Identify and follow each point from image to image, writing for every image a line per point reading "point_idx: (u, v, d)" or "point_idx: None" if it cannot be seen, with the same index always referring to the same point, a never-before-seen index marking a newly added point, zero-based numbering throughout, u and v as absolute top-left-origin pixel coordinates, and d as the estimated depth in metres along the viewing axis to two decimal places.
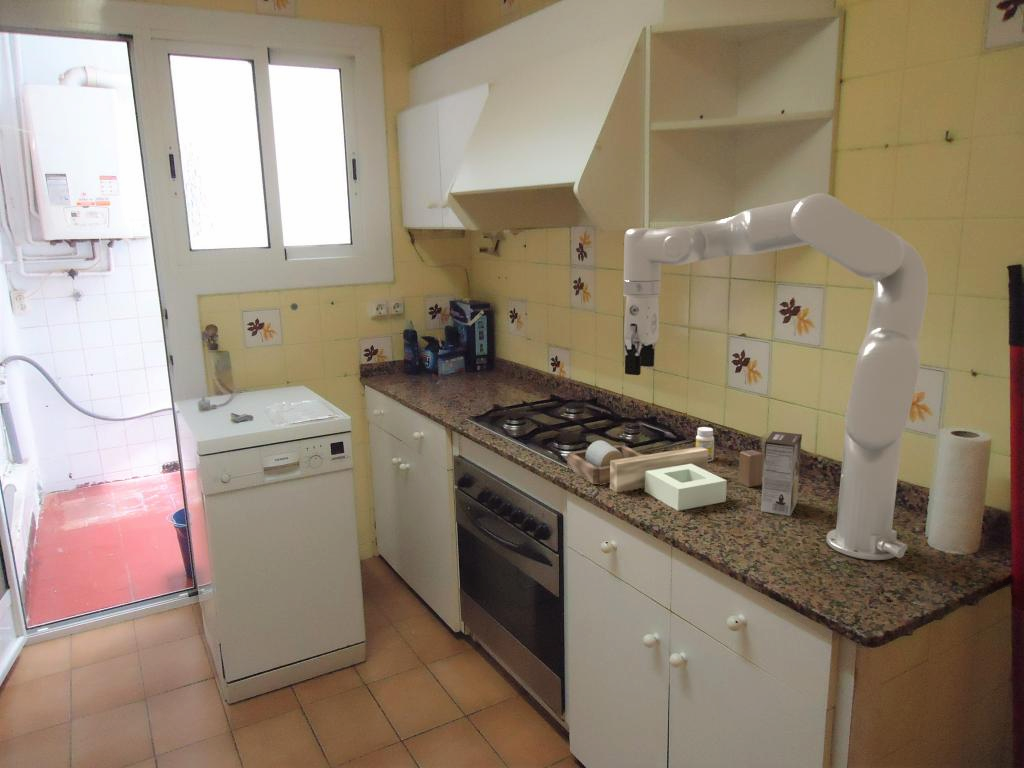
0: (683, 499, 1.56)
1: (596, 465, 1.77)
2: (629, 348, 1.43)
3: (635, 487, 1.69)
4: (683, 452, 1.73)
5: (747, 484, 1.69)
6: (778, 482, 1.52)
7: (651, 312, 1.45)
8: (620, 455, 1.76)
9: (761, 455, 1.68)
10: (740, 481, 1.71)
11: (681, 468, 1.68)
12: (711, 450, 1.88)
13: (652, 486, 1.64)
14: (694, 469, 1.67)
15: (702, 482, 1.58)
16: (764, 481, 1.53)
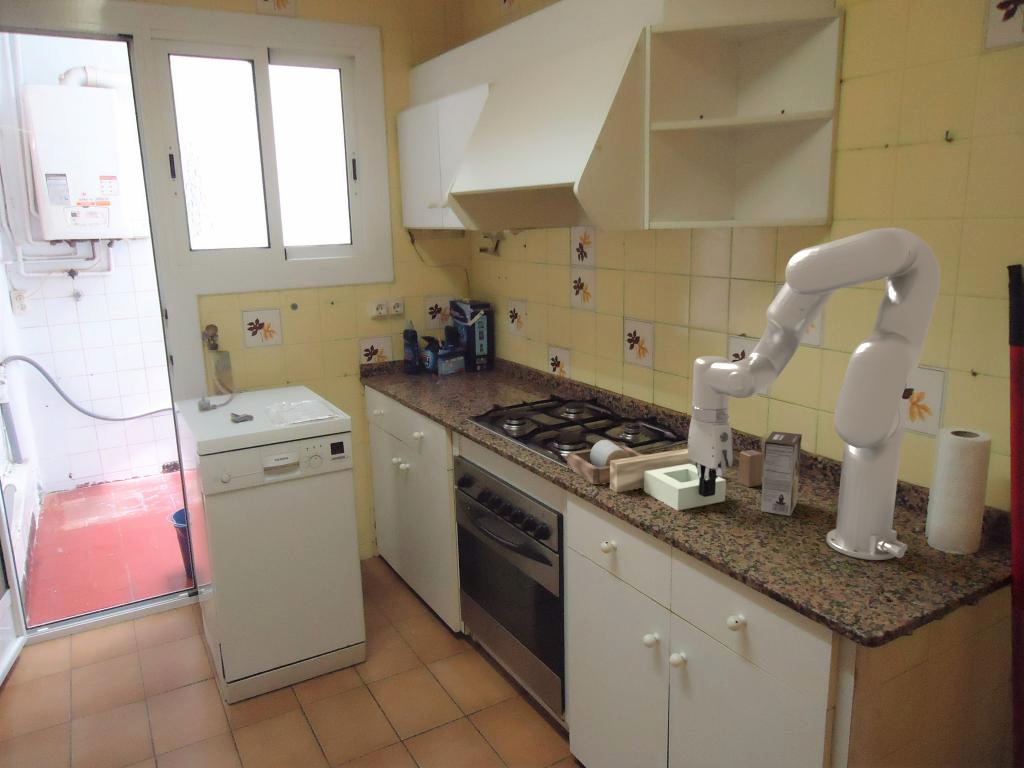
0: (682, 499, 1.56)
1: (601, 464, 1.78)
2: None
3: (635, 487, 1.69)
4: (683, 452, 1.73)
5: (747, 484, 1.69)
6: (778, 482, 1.52)
7: None
8: (625, 454, 1.77)
9: (761, 455, 1.68)
10: (740, 481, 1.71)
11: (680, 468, 1.68)
12: None
13: (651, 486, 1.64)
14: (693, 468, 1.68)
15: None
16: (764, 481, 1.53)
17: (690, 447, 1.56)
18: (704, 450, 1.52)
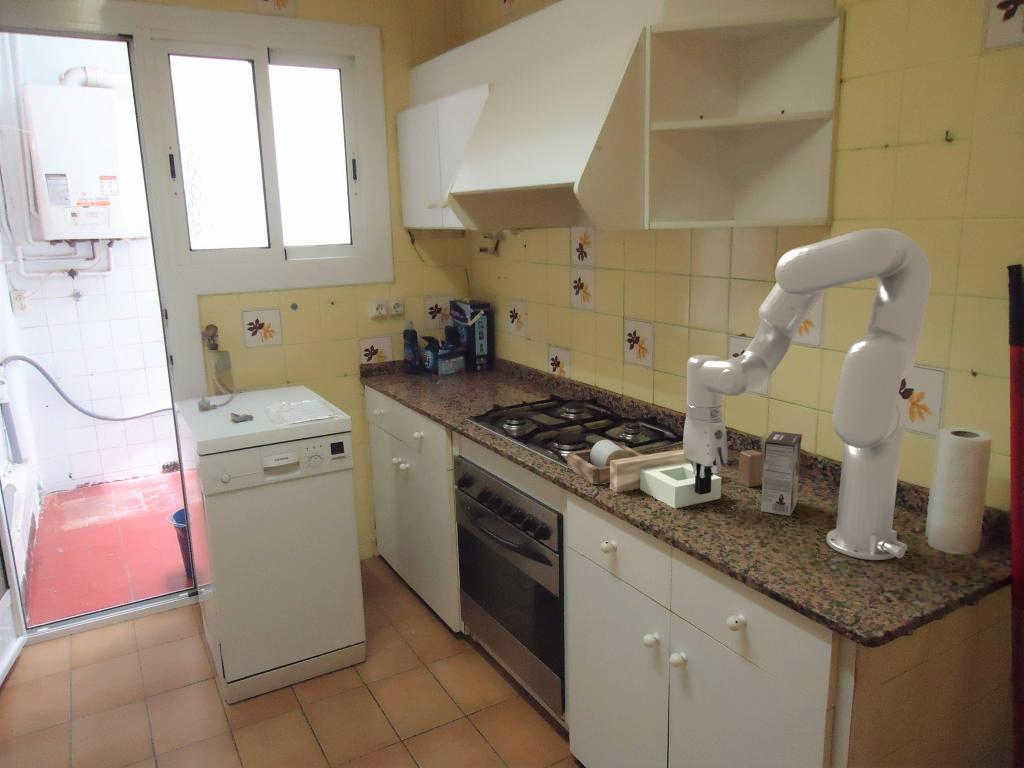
0: (679, 497, 1.57)
1: (601, 464, 1.78)
2: None
3: (635, 487, 1.69)
4: None
5: (747, 484, 1.69)
6: (778, 482, 1.52)
7: None
8: (625, 454, 1.77)
9: (761, 455, 1.68)
10: (740, 481, 1.71)
11: (675, 466, 1.70)
12: None
13: (648, 484, 1.66)
14: (688, 467, 1.69)
15: None
16: (764, 481, 1.53)
17: (685, 445, 1.58)
18: (699, 448, 1.53)
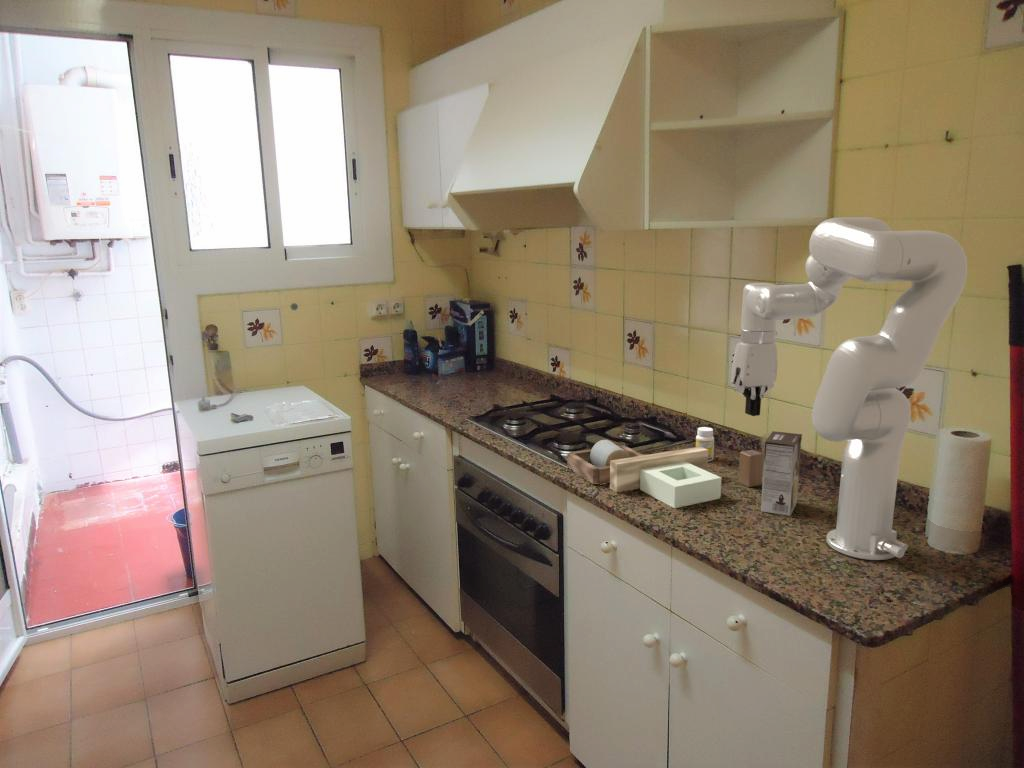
0: (679, 497, 1.57)
1: (601, 464, 1.78)
2: None
3: (635, 487, 1.69)
4: (683, 452, 1.73)
5: (747, 484, 1.69)
6: (778, 482, 1.52)
7: None
8: (625, 454, 1.77)
9: (761, 455, 1.68)
10: (740, 481, 1.71)
11: (675, 466, 1.70)
12: (711, 450, 1.88)
13: (648, 484, 1.66)
14: (688, 466, 1.69)
15: (698, 480, 1.60)
16: (764, 481, 1.53)
17: (750, 375, 1.62)
18: (768, 370, 1.63)
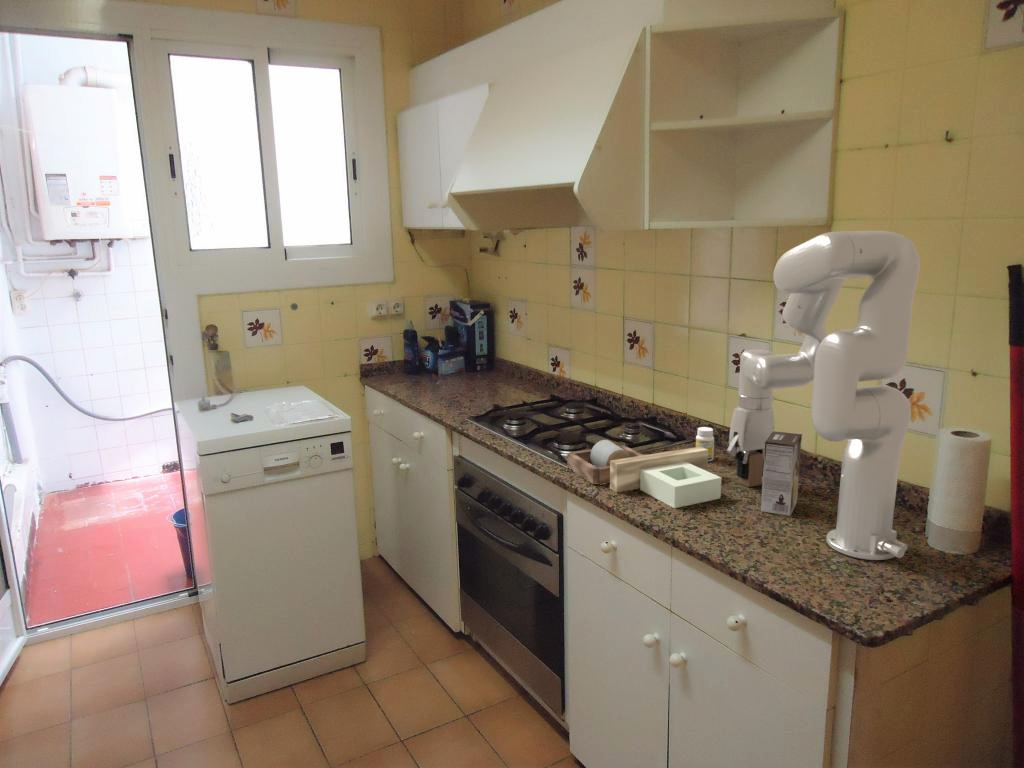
0: (679, 497, 1.57)
1: (601, 464, 1.78)
2: None
3: (635, 487, 1.69)
4: (683, 452, 1.73)
5: (747, 484, 1.69)
6: (778, 482, 1.52)
7: None
8: (625, 454, 1.77)
9: (761, 455, 1.68)
10: (740, 481, 1.71)
11: (675, 466, 1.70)
12: (711, 450, 1.88)
13: (648, 484, 1.66)
14: (688, 466, 1.69)
15: (698, 480, 1.60)
16: (764, 481, 1.53)
17: (747, 439, 1.66)
18: (765, 434, 1.67)
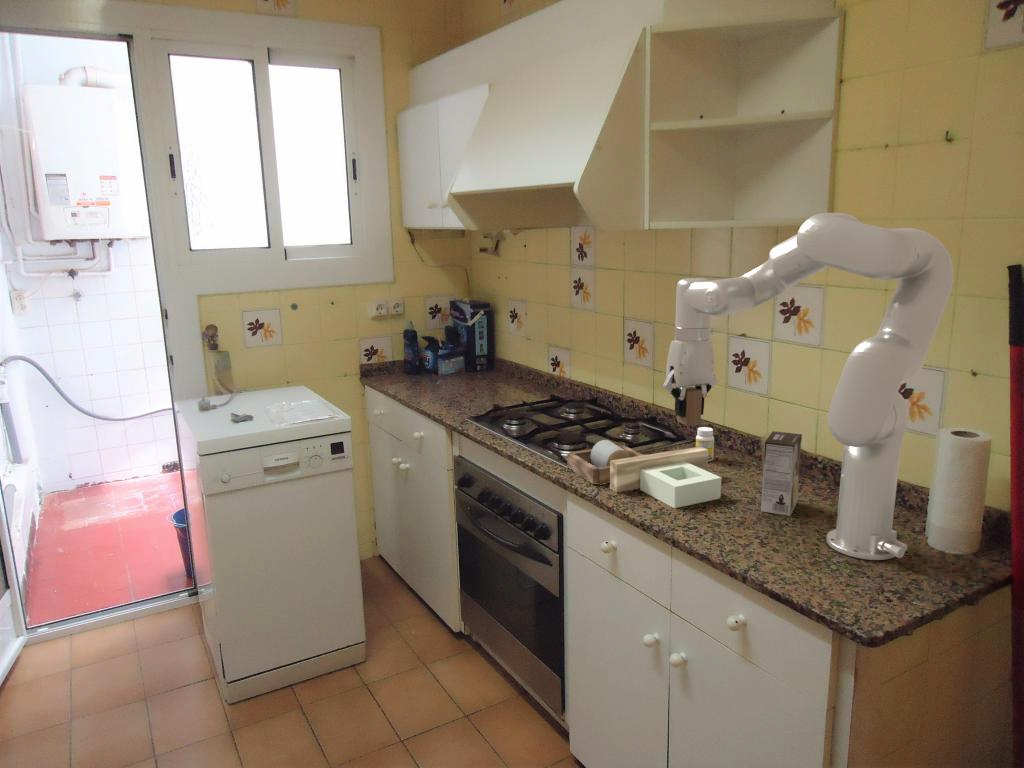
0: (679, 497, 1.57)
1: (602, 464, 1.77)
2: None
3: (635, 487, 1.69)
4: (683, 452, 1.73)
5: (685, 422, 1.60)
6: (778, 482, 1.52)
7: None
8: (625, 454, 1.77)
9: (699, 391, 1.59)
10: (678, 420, 1.62)
11: (675, 466, 1.70)
12: (711, 450, 1.88)
13: (648, 484, 1.66)
14: (688, 466, 1.69)
15: (698, 480, 1.60)
16: (764, 481, 1.53)
17: (683, 373, 1.56)
18: (703, 369, 1.57)
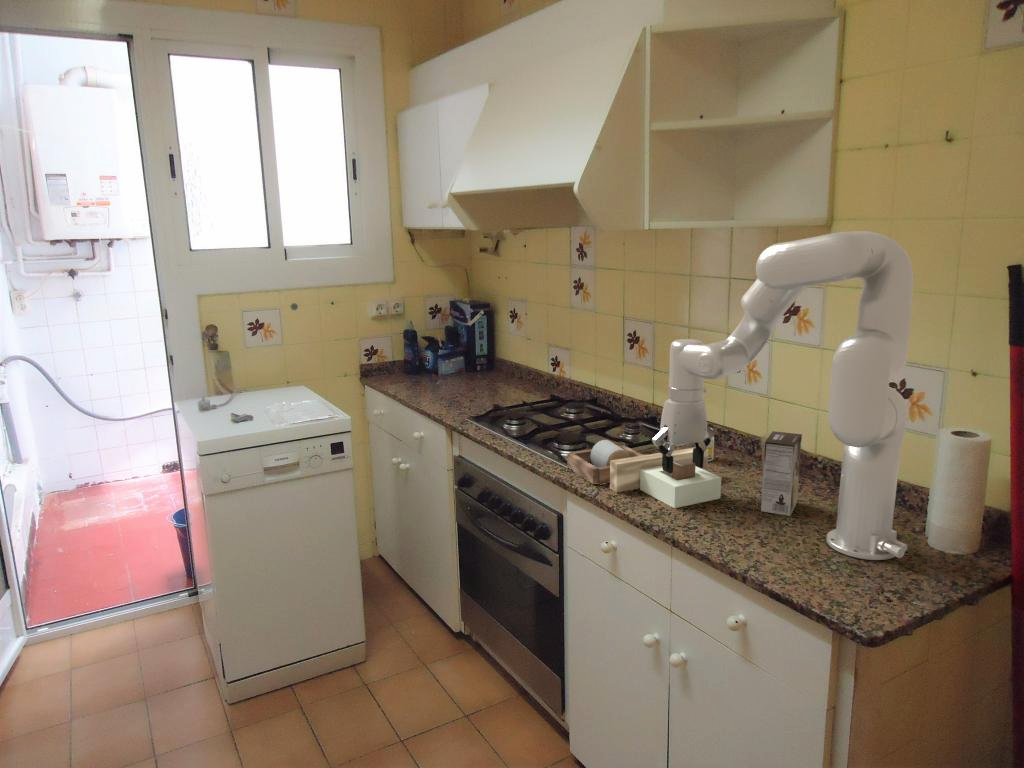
0: (679, 497, 1.57)
1: (602, 464, 1.77)
2: None
3: (635, 487, 1.69)
4: (683, 452, 1.73)
5: None
6: (778, 482, 1.52)
7: None
8: (625, 454, 1.77)
9: (693, 465, 1.62)
10: None
11: None
12: (711, 450, 1.88)
13: (648, 484, 1.66)
14: None
15: (698, 480, 1.60)
16: (764, 481, 1.53)
17: (677, 433, 1.58)
18: (696, 428, 1.60)
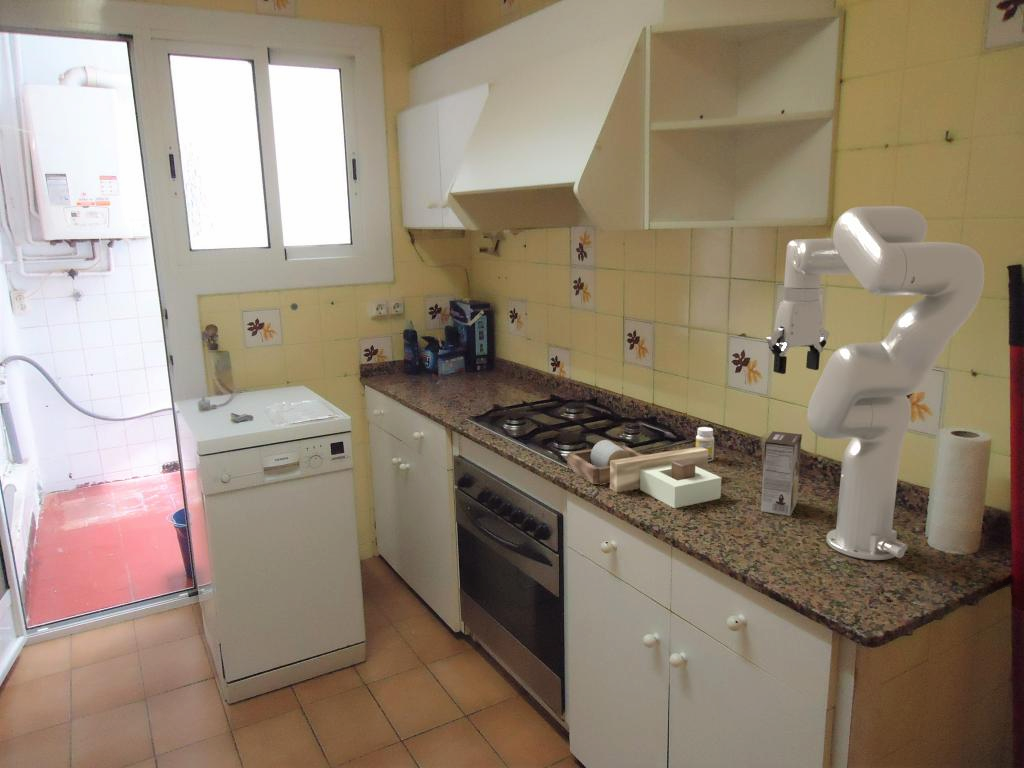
0: (679, 497, 1.57)
1: (602, 465, 1.77)
2: None
3: (635, 487, 1.69)
4: (683, 452, 1.73)
5: None
6: (778, 482, 1.52)
7: None
8: (626, 454, 1.77)
9: (693, 465, 1.62)
10: None
11: None
12: (711, 450, 1.88)
13: (648, 484, 1.66)
14: None
15: (698, 480, 1.60)
16: (764, 481, 1.53)
17: (794, 334, 1.57)
18: (812, 329, 1.59)
